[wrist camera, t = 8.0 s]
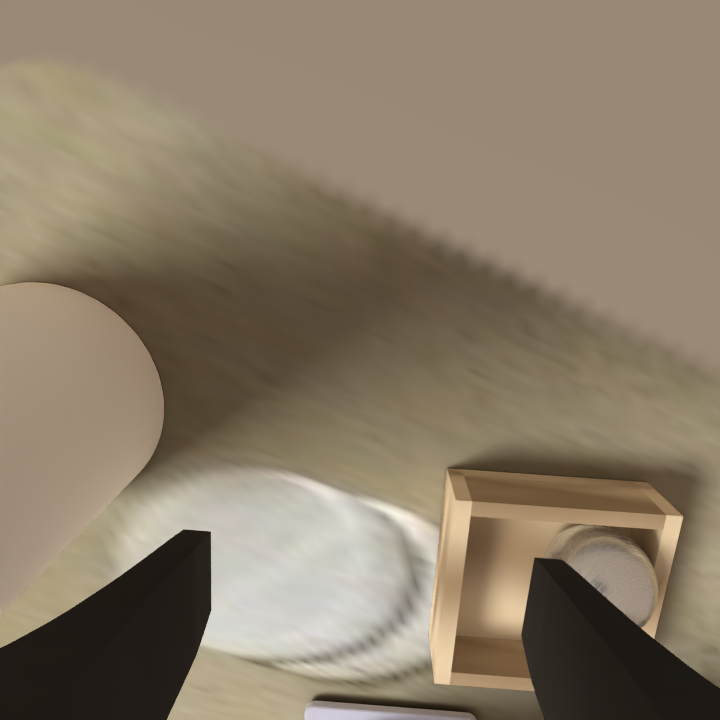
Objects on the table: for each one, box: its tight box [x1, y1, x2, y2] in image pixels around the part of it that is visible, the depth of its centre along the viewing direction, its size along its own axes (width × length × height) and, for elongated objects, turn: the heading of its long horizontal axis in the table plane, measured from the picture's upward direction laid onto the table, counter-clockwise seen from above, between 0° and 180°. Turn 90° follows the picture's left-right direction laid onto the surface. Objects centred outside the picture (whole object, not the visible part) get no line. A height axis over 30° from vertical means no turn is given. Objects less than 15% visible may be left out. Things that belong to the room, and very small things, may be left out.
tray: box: [429, 468, 683, 691], centre depth 21 cm, size 8×8×3 cm
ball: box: [543, 524, 658, 628], centre depth 20 cm, size 4×4×4 cm
